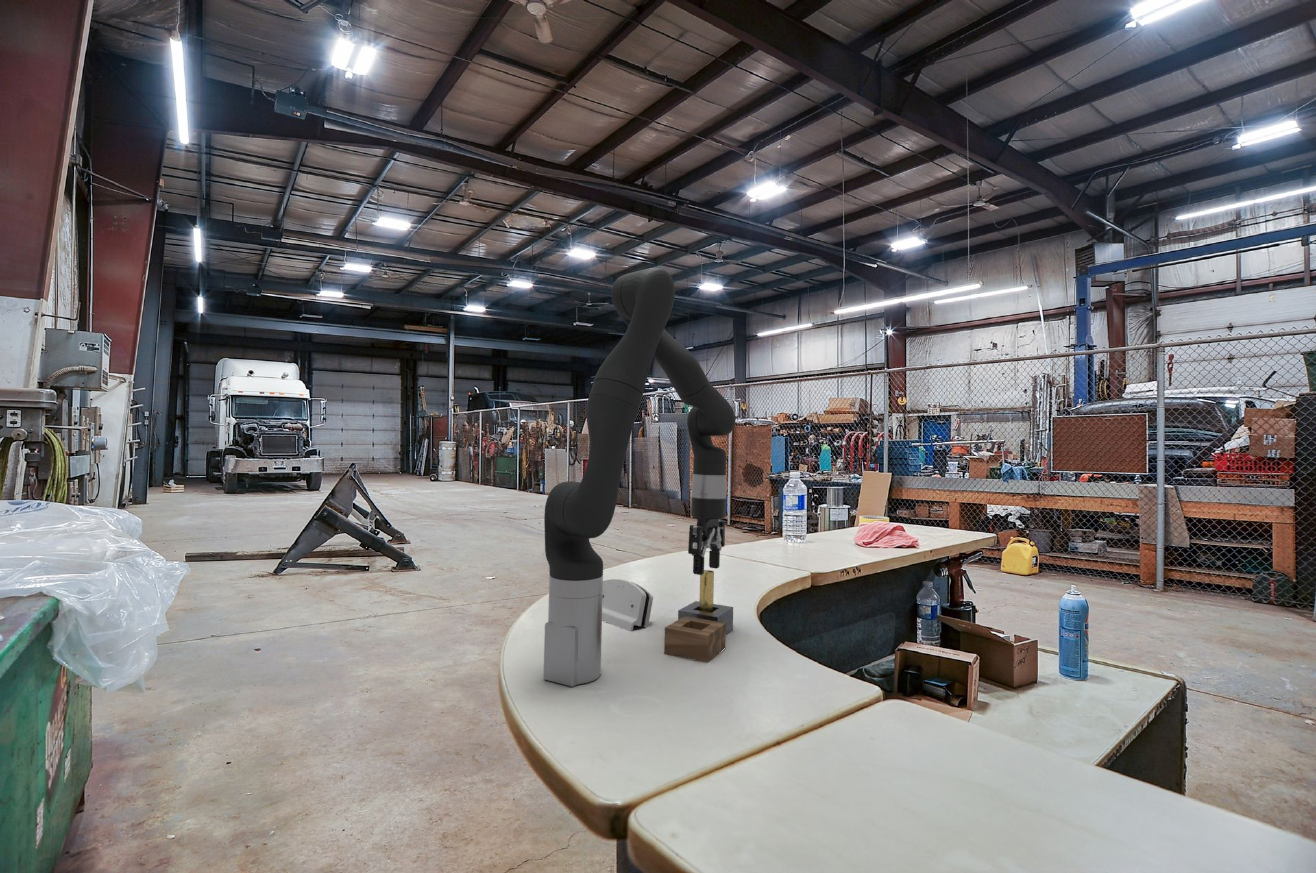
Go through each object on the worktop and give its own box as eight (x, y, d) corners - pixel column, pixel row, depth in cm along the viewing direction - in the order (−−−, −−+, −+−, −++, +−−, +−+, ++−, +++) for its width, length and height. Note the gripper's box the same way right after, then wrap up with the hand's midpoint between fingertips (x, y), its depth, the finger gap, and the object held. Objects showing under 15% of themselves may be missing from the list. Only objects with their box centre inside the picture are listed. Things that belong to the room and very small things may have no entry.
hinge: (584, 614, 140) (597, 572, 143) (599, 617, 143) (611, 576, 146) (631, 631, 128) (644, 585, 130) (646, 635, 131) (659, 589, 133)
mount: (707, 662, 111) (707, 635, 111) (664, 653, 115) (664, 627, 115) (725, 648, 119) (725, 623, 119) (684, 640, 123) (684, 616, 123)
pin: (709, 635, 127) (710, 573, 127) (696, 632, 128) (697, 571, 128) (714, 631, 129) (716, 571, 130) (702, 629, 131) (703, 569, 131)
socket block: (717, 641, 123) (717, 617, 123) (677, 634, 127) (678, 610, 127) (732, 629, 131) (733, 606, 131) (695, 623, 135) (695, 601, 135)
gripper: (712, 498, 121) (709, 579, 121) (736, 495, 134) (734, 567, 133) (678, 496, 125) (676, 574, 124) (705, 492, 137) (703, 563, 137)
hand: (706, 571), depth 129 cm, fingers open, 8 cm apart
